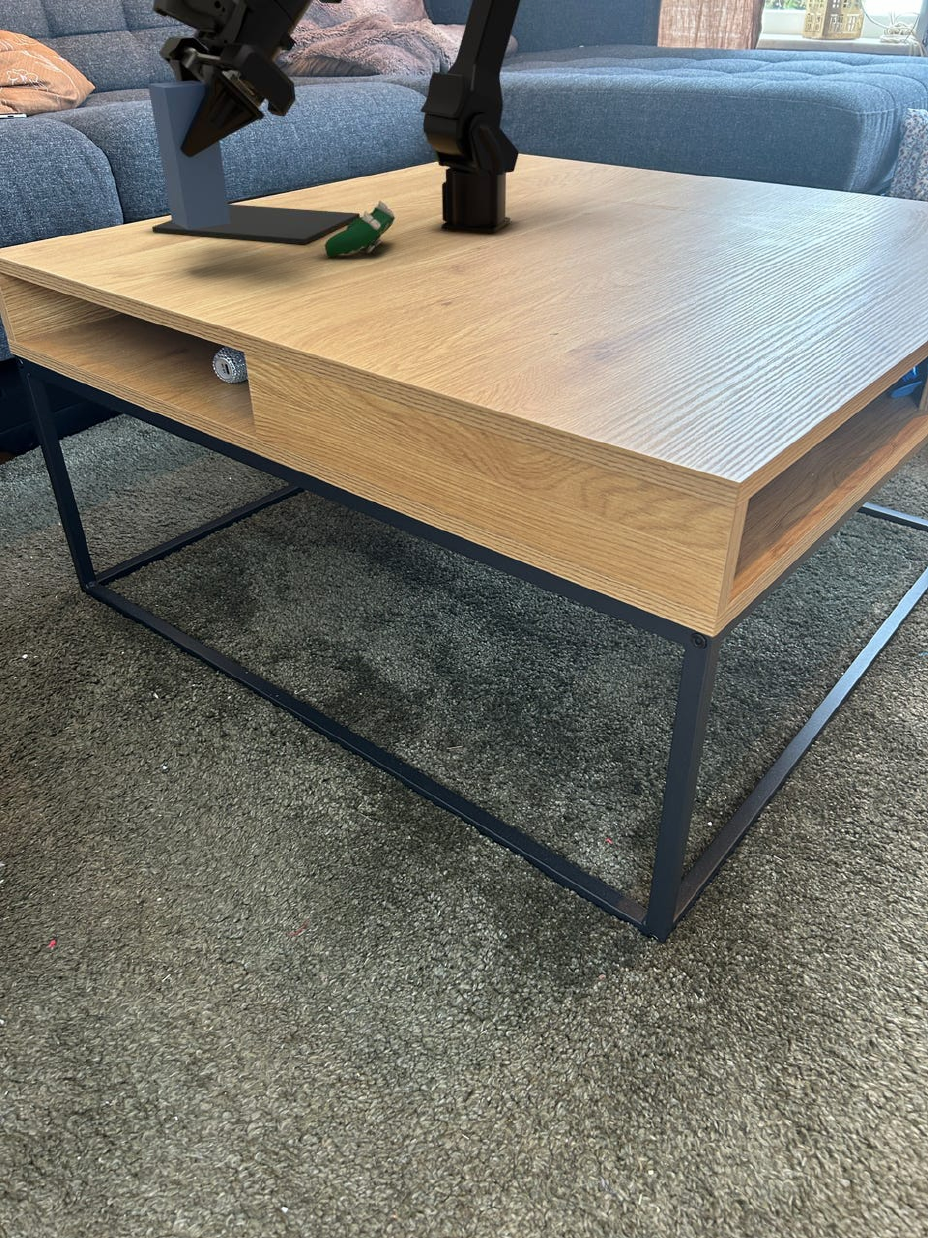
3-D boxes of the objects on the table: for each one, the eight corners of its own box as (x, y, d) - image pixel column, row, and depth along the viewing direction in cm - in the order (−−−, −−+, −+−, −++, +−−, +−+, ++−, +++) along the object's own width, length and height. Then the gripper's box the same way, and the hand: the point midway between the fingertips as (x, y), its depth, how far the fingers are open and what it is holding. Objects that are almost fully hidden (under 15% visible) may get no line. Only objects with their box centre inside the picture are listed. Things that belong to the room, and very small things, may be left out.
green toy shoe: (345, 277, 101) (382, 236, 98) (318, 249, 100) (355, 207, 97) (369, 255, 109) (404, 217, 105) (345, 229, 107) (379, 190, 104)
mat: (360, 218, 117) (359, 213, 116) (305, 244, 106) (304, 238, 105) (218, 208, 122) (217, 203, 122) (152, 232, 112) (151, 226, 111)
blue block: (213, 216, 97) (193, 80, 90) (231, 223, 94) (211, 83, 87) (171, 222, 95) (147, 83, 88) (188, 229, 92) (164, 87, 85)
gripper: (161, -66, 89) (70, 78, 90) (243, -73, 77) (136, 94, 78) (251, 29, 97) (167, 160, 99) (339, 37, 85) (241, 187, 86)
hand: (175, 150), depth 90 cm, fingers closed on blue block, 4 cm apart
